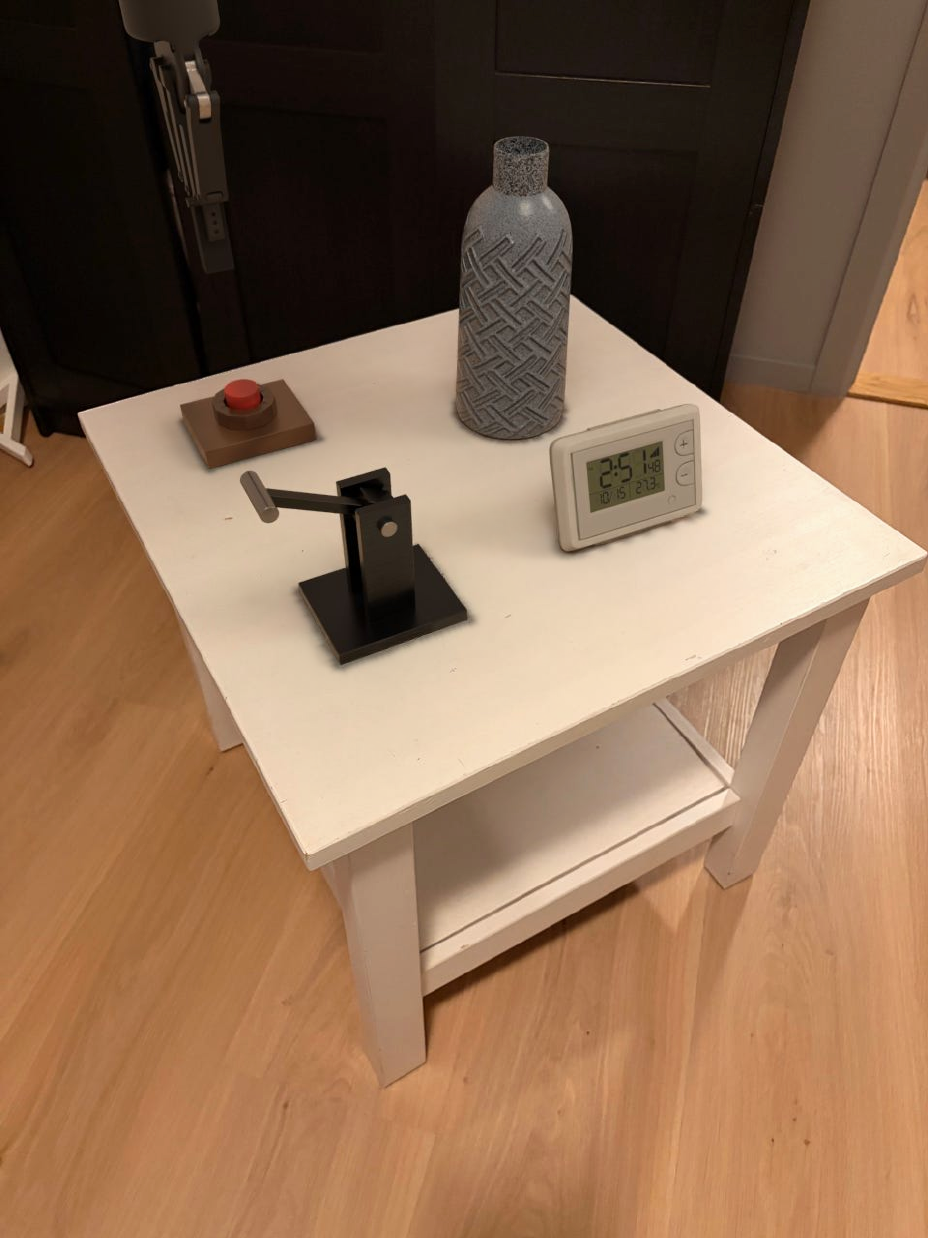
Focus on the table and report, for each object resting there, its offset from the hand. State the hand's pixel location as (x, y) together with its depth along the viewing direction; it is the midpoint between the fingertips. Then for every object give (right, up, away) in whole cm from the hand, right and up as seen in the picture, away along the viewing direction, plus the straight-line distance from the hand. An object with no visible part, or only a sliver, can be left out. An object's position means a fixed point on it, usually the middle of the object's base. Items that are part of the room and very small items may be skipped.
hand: (218, 268), depth 89 cm
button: (0, -10, +11) cm, 15 cm away
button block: (0, -13, +13) cm, 18 cm away
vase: (+29, -10, +16) cm, 35 cm away
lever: (+12, -26, -16) cm, 33 cm away
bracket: (+16, -33, -6) cm, 37 cm away
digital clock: (+39, -24, +2) cm, 46 cm away
